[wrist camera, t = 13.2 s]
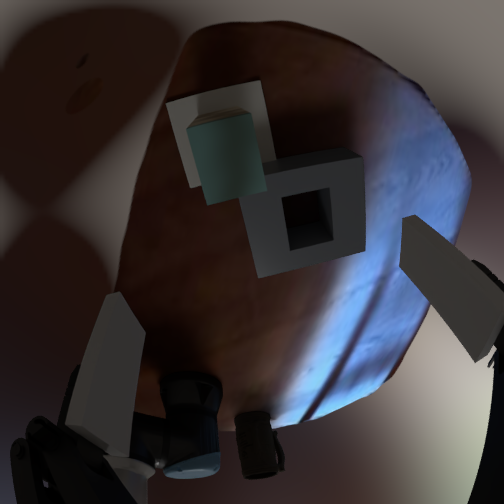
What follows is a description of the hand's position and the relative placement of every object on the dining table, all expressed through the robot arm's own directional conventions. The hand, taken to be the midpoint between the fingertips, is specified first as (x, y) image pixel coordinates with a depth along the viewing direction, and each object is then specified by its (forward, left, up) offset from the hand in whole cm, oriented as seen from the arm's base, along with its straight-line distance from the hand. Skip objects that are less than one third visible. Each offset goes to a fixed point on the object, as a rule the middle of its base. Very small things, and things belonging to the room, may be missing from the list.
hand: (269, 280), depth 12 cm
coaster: (-1, +2, -28) cm, 28 cm away
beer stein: (-11, -75, -28) cm, 80 cm away
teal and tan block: (-1, +2, -27) cm, 27 cm away
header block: (+7, -10, -28) cm, 30 cm away
